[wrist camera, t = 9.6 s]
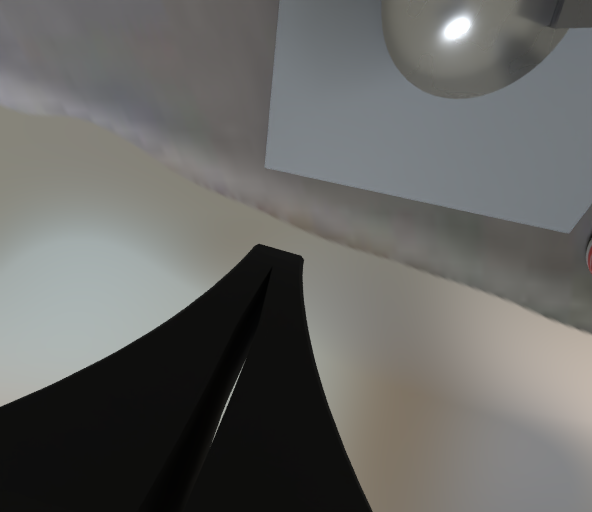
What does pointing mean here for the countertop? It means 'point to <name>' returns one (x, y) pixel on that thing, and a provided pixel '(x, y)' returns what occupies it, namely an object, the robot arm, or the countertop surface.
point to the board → (429, 122)
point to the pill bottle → (589, 256)
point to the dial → (475, 40)
